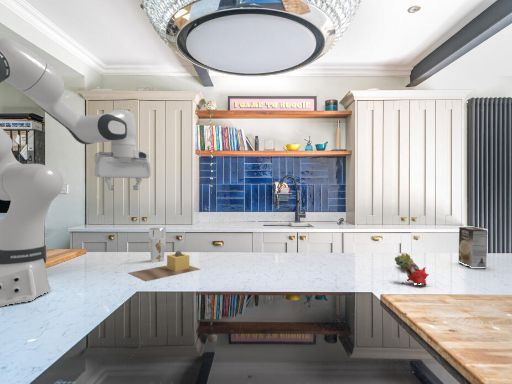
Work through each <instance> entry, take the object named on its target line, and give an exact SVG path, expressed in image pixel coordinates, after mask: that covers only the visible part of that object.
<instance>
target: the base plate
mask: <svg viewBox="0 0 512 384" xmlns="http://www.w3.org/2000/svg"><path fill="white" fill-rule="evenodd" d="M182 253H183V252H181V251H180V250H177V251H175V253H174V254H175V257H179V256H182ZM200 270H201V268H200V267H199V268H198V267H196V266H192V265H190V264H189V269H184V270H180V271H173V270H170V269H168V268H167V264H166V265H162V266H157V267H151V268H146V269H142V270H137V271H132V272H131V271H130V272H127V274H129V275H131V276H133V277H135V278H137V279H138V280H139V279H140V280H142V281H144V282H151V281H154V280H159V279H163V278H169V277H173V276H177V275H182V274H185V273H186V274H187V273H192V272H195V271H200Z"/></svg>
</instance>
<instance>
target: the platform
mask: <svg viewBox="0 0 512 384" xmlns="http://www.w3.org/2000/svg"><path fill="white" fill-rule="evenodd" d="M398 256H404V257H405V258H407V259H409V260H412V261H413V262H414V259H413V258H412V257H411V255H410V254H408V253H407V252H405V253H404V252H401V255H397V257H398Z"/></svg>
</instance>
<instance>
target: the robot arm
mask: <svg viewBox="0 0 512 384" xmlns="http://www.w3.org/2000/svg"><path fill="white" fill-rule="evenodd" d="M2 82H5V83H8V84H9V85H11V87H14V88H15V89H16V90H18V91H19V92H20V93H22V94H23V95H25V96H27V97H28V98H30V99H31V100H32V101H33V102H34V103H35V104H36V105H37V106H38V107H39V108H40V109H41V110H42V111H43V112H45V113H46V114H47V115H49V116H50V117H51V118H52V119H54V120H55V121H56V122H57V123H58V124H60V125H61V126H63V127H64V128H65V129H66V130H67V131H68V132H69V133H70V134H71V136H72V137H73V138H74V139H75V140H76V142H77V143H80V144H82V145H92V144H98V143H99V144H100V143H107V142H110V152H108V151H107V152H106V151H105V152H104V151H99V152H97V153H95V154H94V162H95V163H94V170H93V175H94V176H95V177H96V178H104V182H105V184H106V185H107V190H108V191H114V189H115V188H114V187H115V185H112V183H111V181H112V178H115V179H117V178H119V179H122V178H123V179H135V181H136V183H135V185H133V186H132V190H133V191H139V190H140V188H139V187H140V185H141V182H142V180H143V179H150V177H151V174H152V173H151V172H152V171H151V170H152V169H151V163H150V161H149V158H150V157H149V154H148V153H147V152H145V151H142V150H140V149H137V143H136V136H137V124H136V123H137V122H136V117H135V115H134V113H133V112H131V110H129V109H128V110H127V109H124V108H114V109H113V110H111V111H108V112H106V113H100V114H99V113H98V114H95V115H94V114H93V115H83V114H82V115H81V114H80V113H77V112H76V111H75V110H73V108H71V107H70V106H69V105H68V104H67V103H65V102H64V101H63V100H62V96H63V95H64V91H65V81H64V78H63V76H62V75H61V74H60V73H59V72H58V71H57V70H56V69H55V68H54V67H52V65H51V64H49V63H48V62H47V61H45V60H44V59H43V58H41V57H40V56H39V55H37V54H36V53H35V52H33V51H32V50H30V49H29V48H28V47H26V46H24V45H22V44H21V43H19V42H17V41H16V40H13V39H12V38H9V37H0V84H1V83H2ZM13 145H14V142H13V140H12V138H11V137H10V136H9V135H8V133H7V132H6V131H5V130H4V128H3V127H2V126H0V200H1V201H10V204H9V208H8V210H7V212H6V214H5V215H4V217H2V218H1V219H0V307H6V306H5V305H7V306H10V305H9V304H13V305H15V304H14V303H20V304H22V303H21V302H26V303H29V302H28V301H31V302H33V301H35V300H36V299H37V298H36V297H38V296H40V295H42V294H44V293H46V294H48V293H49V292H51V290H52V289H51V285H50V283H49V279H48V273H47V267H46V266H47V265H46V263H47V258H48V257H47V255H48V254H47V253H48V252H47V251H48V250H47V245H45V229H46V228H45V227H46V218H47V214H48V211H49V209H50V207H51V204H52V203H53V201H54V199H56V198H57V197H58V196H60V194H61V193H62V191H63V189H64V177H63V176H62V174H61V172H60V171H59V170H58V169H57V168H55V167H53V166H51V165H50V166H49V165H45V164H43V163H21V162H20V161H18V160H17V158H16V156H15V155H14V153H13V151H12V149H13ZM50 289H51V290H50ZM48 291H49V292H48ZM47 292H48V293H47ZM44 295H45V294H44ZM42 296H43V295H42ZM40 297H41V296H40ZM35 298H36V299H35ZM38 298H39V297H38ZM34 299H35V300H34ZM32 300H33V301H32Z"/></svg>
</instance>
